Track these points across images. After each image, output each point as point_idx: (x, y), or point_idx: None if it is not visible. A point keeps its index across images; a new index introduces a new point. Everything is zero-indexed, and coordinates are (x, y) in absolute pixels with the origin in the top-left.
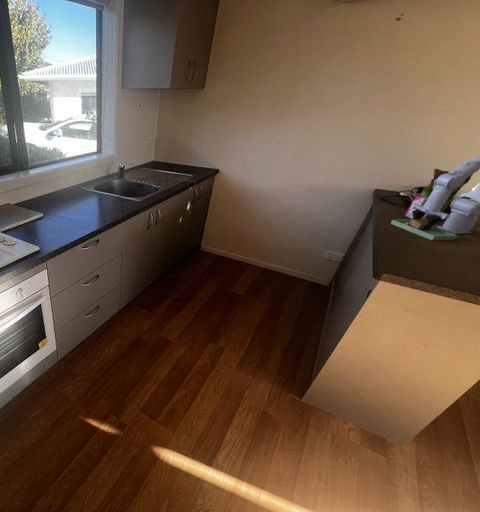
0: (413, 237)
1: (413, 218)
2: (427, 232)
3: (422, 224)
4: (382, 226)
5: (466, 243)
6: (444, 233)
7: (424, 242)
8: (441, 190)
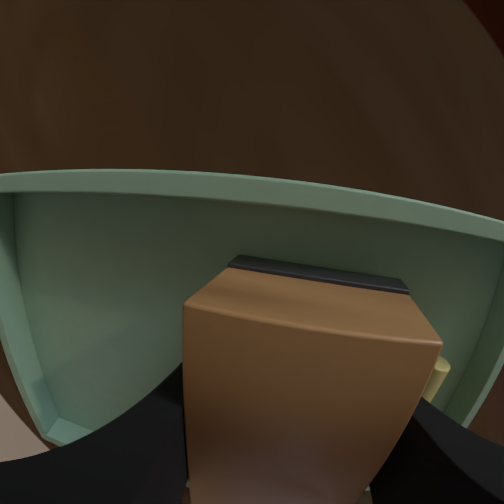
0: (101, 27)
1: (448, 425)
2: (164, 356)
3: (187, 345)
4: (455, 19)
5: (16, 398)
6: None
7: (14, 47)
8: None
